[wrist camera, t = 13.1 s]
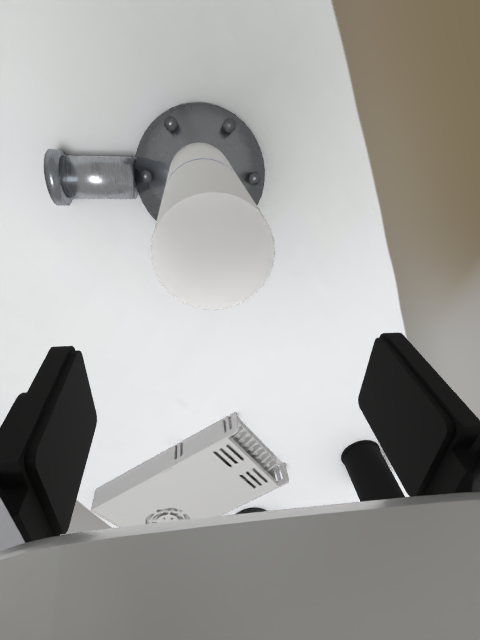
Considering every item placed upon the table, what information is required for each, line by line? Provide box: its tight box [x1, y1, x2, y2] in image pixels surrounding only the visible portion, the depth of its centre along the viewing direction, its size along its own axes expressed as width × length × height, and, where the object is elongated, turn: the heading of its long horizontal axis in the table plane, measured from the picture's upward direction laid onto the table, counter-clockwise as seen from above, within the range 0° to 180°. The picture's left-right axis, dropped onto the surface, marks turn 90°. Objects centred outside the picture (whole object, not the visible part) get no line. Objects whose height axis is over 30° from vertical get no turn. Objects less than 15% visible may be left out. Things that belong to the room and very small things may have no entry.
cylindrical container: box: [151, 142, 275, 310], centre depth 31 cm, size 7×7×25 cm
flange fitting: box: [44, 103, 265, 221], centre depth 40 cm, size 23×15×6 cm, turn 88°
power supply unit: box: [91, 412, 289, 527], centre depth 71 cm, size 19×33×5 cm, turn 122°
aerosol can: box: [341, 441, 405, 502], centre depth 67 cm, size 8×8×20 cm
